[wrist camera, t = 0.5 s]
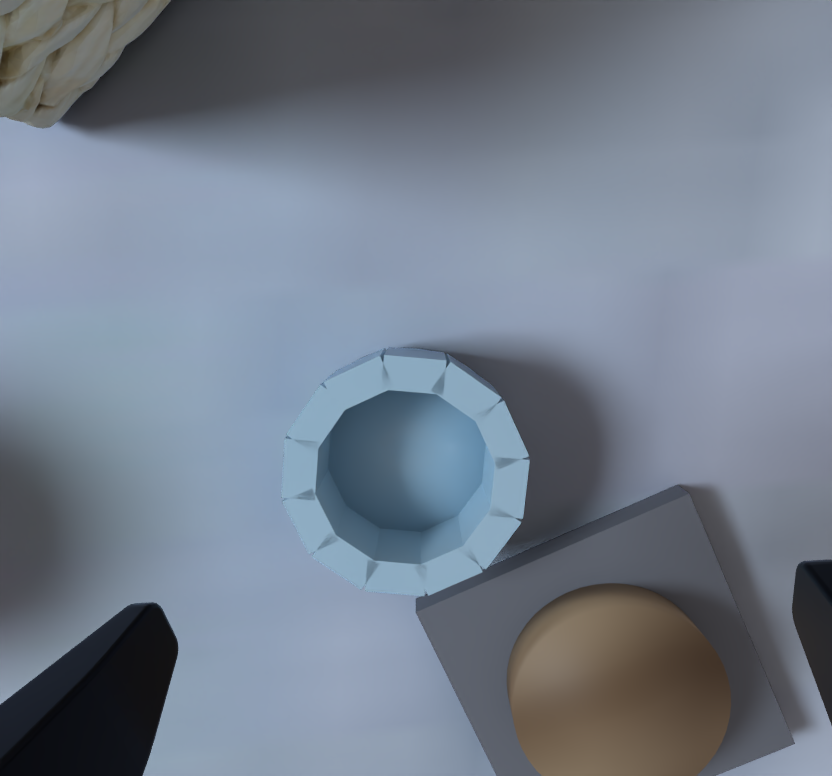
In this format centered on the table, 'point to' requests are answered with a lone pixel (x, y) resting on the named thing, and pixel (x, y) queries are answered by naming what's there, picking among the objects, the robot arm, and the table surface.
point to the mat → (588, 565)
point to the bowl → (405, 472)
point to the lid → (616, 686)
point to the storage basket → (62, 51)
